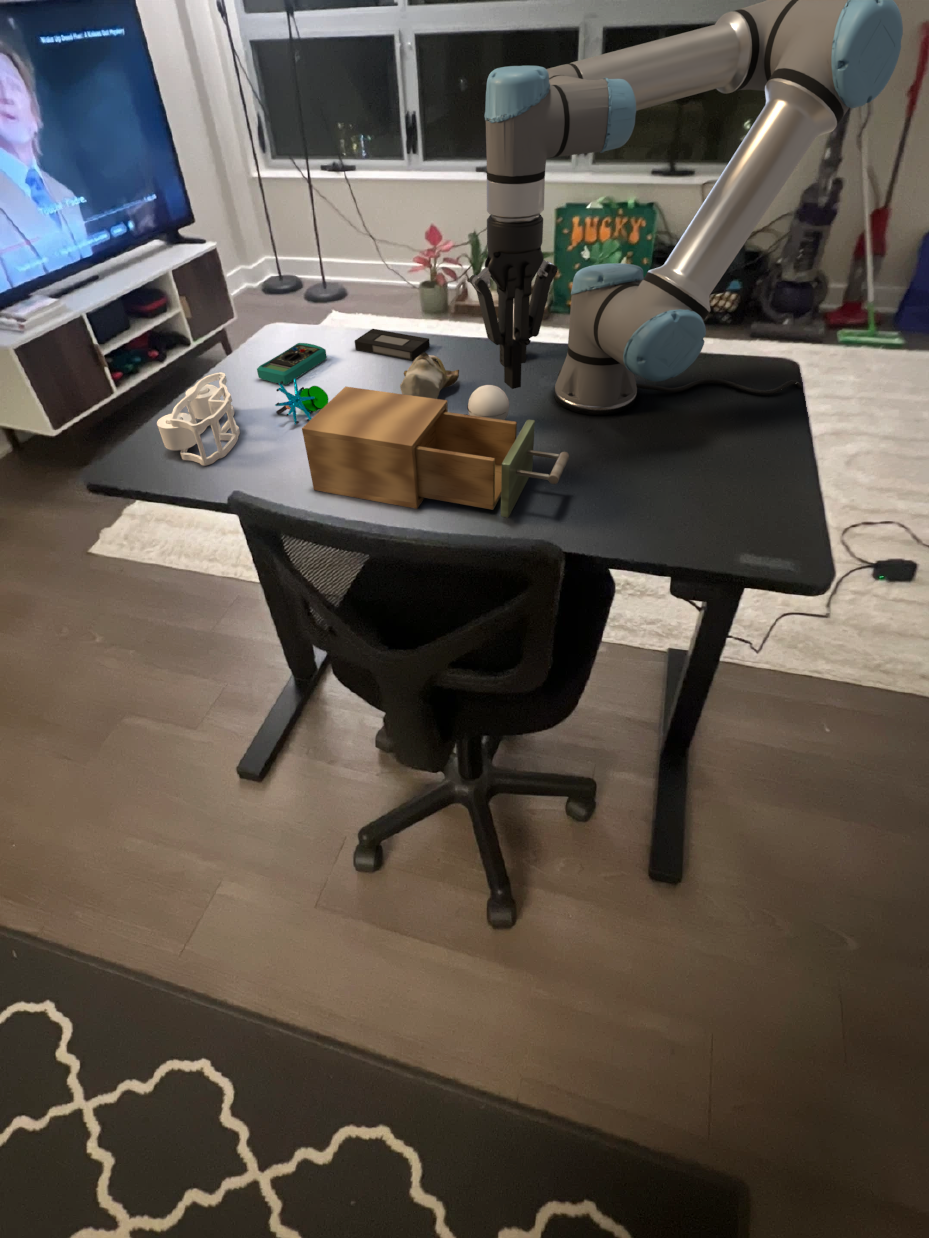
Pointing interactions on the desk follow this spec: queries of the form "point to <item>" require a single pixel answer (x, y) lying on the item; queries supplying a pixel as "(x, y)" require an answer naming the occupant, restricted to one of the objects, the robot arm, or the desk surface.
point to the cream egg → (489, 403)
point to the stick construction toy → (303, 400)
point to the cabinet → (370, 444)
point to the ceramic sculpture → (427, 377)
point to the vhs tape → (392, 344)
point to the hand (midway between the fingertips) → (512, 384)
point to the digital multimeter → (292, 363)
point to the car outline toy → (205, 405)
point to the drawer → (479, 461)
